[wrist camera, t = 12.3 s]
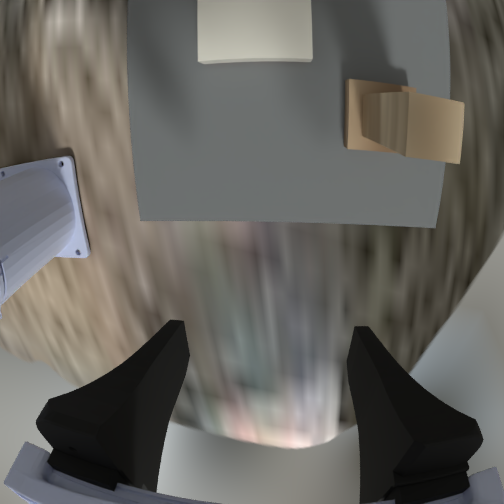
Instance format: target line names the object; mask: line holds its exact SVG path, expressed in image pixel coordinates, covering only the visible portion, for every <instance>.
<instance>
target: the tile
mask: <svg viewBox="0 0 504 504" xmlns="http://www.w3.org/2000/svg"><path fill="white" fill-rule="evenodd" d="M197 31H198V62H200V63H202V64H214V63H229V62H258V61H286V62H311V61H312V59H313V47H312V13H311V0H197Z"/></svg>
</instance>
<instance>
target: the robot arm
mask: <svg viewBox="0 0 504 504" xmlns="http://www.w3.org/2000/svg"><path fill="white" fill-rule="evenodd" d="M61 161H63V163H64V166H63V165H62V164H61ZM4 173H5V174H4ZM78 250H79V251H80V252H81V253H80V252H79V251H78ZM89 255H90V248H89V243H88V239H87V234H86V230H85V225H84V220H83V215H82V209H81V204H80V198H79V192H78V186H77V179H76V173H75V165H74V160H73V158H72V157H71V156H62V157H56V158H50V159H44V160H39V161H33V162H28V163H23V164H18V165H13V166H9V167H4V168H0V319H1V318H2V314H1V305H2V304H3V303H4V302H5V301H6V300H7V299H8V298H9V297H10V296H11V295H12V294H13V293H14V292H16V291H17V290H18V289H19V288H20V287H21V286H22V285H23V284H24V283H25V282H26V281H27V280H29V279H30V278H31V277H32V276H33V275H34V274H35V273H36V272H37V271H39V270H40V269H41V268H42V267H43V266H44V265H45V264H47V263H48V262H49V261H50V260H51V259H52V258H54V257H71V258H87V257H88V256H89ZM189 357H190V353H189V348H188V342H187V337H186V331H185V325H184V321H181V320H170V321H168V322H167V323H166V324H165V325H164V326H163V327H162V328H161V329H160V330H159V331H158V332H157V333H156V334H155V335H154V336H153V337H152V338H151V339H150V340H149V341H148V342H146V343H145V344H144V345H143V346H142V347H141V348H140V349H139V350H138V351H137V352H135V353H134V354H133V355H132V356H131V357H129V358H128V359H127V360H126V361H124V362H123V363H122V364H120V365H119V366H118V367H116V368H115V369H113V370H112V371H110V372H109V373H107V374H105V375H104V376H102V377H100V378H98V379H97V380H95V381H93V382H91V383H89V384H87V385H85V386H83V387H81V388H79V389H76V390H74V391H72V392H69V393H66V394H63V395H60V396H57V397H54V398H51V399H49V400H48V402H47V403H46V405H45V407H44V408H43V410H42V411H41V413H40V415H39V417H38V418H37V420H36V425H37V428H38V430H39V431H40V433H41V434H42V435H43V436H44V438H45V439H46V440H47V441H48V443H49V444H50V445H51V446H52V447H53V448H54V449H53V451H52V453H51V454H50V453H49V452H48V451H46V450H44V449H42V448H40V447H38V446H35V445H33V444H31V443H29V442H25V443H24V445H23V447H22V448H21V450H20V452H19V454H18V456H17V458H16V460H15V462H14V464H13V465H12V467H11V469H10V471H9V473H8V475H7V477H6V479H5V481H4V484H5V485H6V486H7V487H8V488H10V489H11V490H12V491H13V492H15V493H16V494H18V496H20V497H21V498H22V499H24V500H25V501H26V502H28V503H29V504H220V503H212V502H204V501H197V500H191V499H186V498H179V497H175V496H169V495H165V494H160V493H156V491H157V483H158V475H159V469H160V462H161V456H162V451H163V446H164V441H165V436H166V432H167V428H168V423H169V420H170V417H171V414H172V411H173V408H174V405H175V403H176V400H177V397H178V395H179V392H180V389H181V386H182V384H183V381H184V378H185V375H186V371H187V367H188V362H189ZM347 370H348V381H349V386H350V391H351V396H352V400H353V405H354V410H355V415H356V419H357V425H358V432H359V447H360V504H504V490H503V486H502V483H501V480H500V477H499V474H498V471H497V468H496V467H492V468H489V469H486V470H484V471H481V472H477V473H475V474H473V475H471V476H469V477H468V476H467V473H466V471H467V470H468V469H469V465H468V462H467V461H468V460H469V459H470V458H471V457H472V456H473V455H474V454H475V452H476V451H477V450H478V449H479V448H480V446H481V444H482V442H483V437H482V434H481V431H480V428H479V426H478V424H477V421H476V420H475V419H473V418H471V417H469V416H467V415H465V414H463V413H461V412H459V411H457V410H455V409H454V408H452V407H450V406H449V405H447V404H445V403H444V402H442V401H441V400H439V399H438V398H436V397H435V396H434V395H432V394H431V393H430V392H428V391H427V390H426V389H424V388H423V387H422V386H421V385H420V384H418V383H417V382H416V381H415V380H414V379H413V378H412V377H411V376H410V375H409V374H408V373H407V372H406V371H405V370H404V369H403V368H402V367H401V366H400V365H399V364H398V363H397V361H396V360H395V359H394V358H393V357H392V355H391V354H390V353H389V352H388V351H387V349H386V348H385V347H384V346H383V344H382V343H381V342H380V341H379V339H378V338H377V337H376V335H375V334H374V333H373V331H372V330H371V329H370V328H369V327H368V326H355V327H354V332H353V336H352V341H351V345H350V349H349V354H348V358H347Z"/></svg>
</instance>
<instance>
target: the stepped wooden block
mask: <svg viewBox="0 0 504 504" xmlns="http://www.w3.org/2000/svg"><path fill="white" fill-rule="evenodd" d="M463 121H464V103H462V102H458V101H454V100H449V99H445V98H440V97H435V96H430V95H425V94H420V93H416V88H413V87H408V86H401V85H395V84H388V83H381V82H374V81H365V80H356V79H347V80H345V124H344V147H345V148H347V149H354V150H367V151H379V152H389V153H399V154H401V155H403V156H405V157H411V158H419V159H427V160H435V161H442V162H449V163H455V164H460V157H461V147H462V136H463Z"/></svg>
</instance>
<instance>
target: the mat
mask: <svg viewBox="0 0 504 504" xmlns="http://www.w3.org/2000/svg"><path fill="white" fill-rule="evenodd" d="M311 13H312V47H313V59H312V61H311V62H286V61H258V62H229V63H214V64H202V63H200V62H198V31H197V0H128V17H127V71H128V98H129V116H130V130H131V143H132V154H133V164H134V173H135V182H136V191H137V199H138V206H139V214H140V221H264V222H306V223H338V224H364V225H387V226H407V227H426V228H435V227H436V222H437V217H438V211H439V205H440V199H441V192H442V186H443V178H444V170H445V162H442V161H435V160H427V159H419V158H411V157H405V156H403V155H401V154H399V153H389V152H379V151H367V150H354V149H347V148H345V147H344V124H345V80H347V79H356V80H365V81H374V82H381V83H388V84H395V85H401V86H408V87H413V88H416V93H420V94H425V95H430V96H435V97H440V98H445V99H449V100H450V47H449V30H448V18H447V8H446V0H311Z"/></svg>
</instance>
